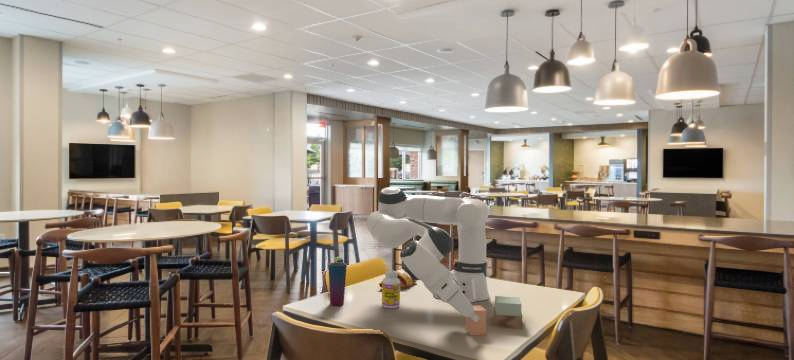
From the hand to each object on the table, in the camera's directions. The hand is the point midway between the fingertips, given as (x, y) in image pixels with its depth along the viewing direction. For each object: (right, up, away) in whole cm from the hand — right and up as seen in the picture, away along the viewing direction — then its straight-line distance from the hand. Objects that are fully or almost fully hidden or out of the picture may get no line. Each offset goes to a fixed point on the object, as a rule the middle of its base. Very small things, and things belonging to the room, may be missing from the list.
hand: (472, 314), depth 140 cm
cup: (-46, -4, +27) cm, 54 cm away
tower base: (+13, -6, +9) cm, 17 cm away
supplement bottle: (-26, -5, +26) cm, 37 cm away
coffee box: (-48, -4, +48) cm, 68 cm away
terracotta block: (+1, -5, +1) cm, 6 cm away
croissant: (-23, -5, +54) cm, 59 cm away
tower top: (+13, -2, +9) cm, 16 cm away
